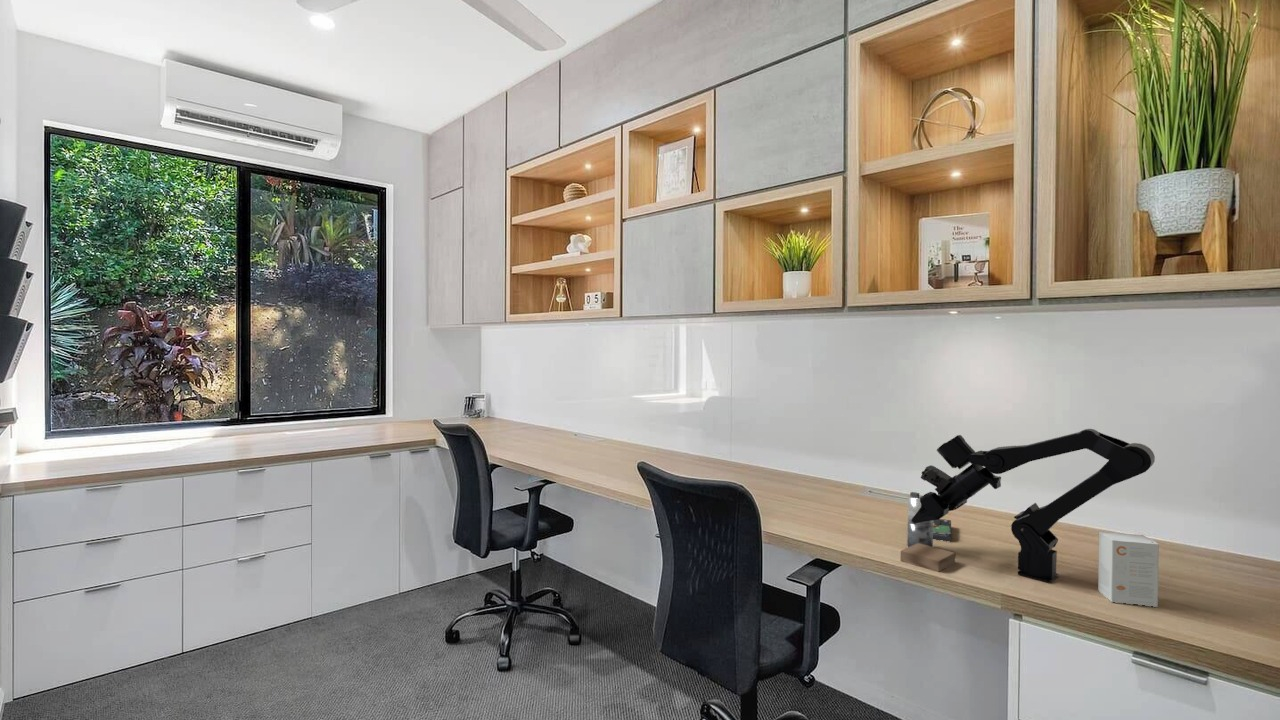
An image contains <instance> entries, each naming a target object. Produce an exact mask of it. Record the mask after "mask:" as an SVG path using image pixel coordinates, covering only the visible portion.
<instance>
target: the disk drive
mask: <svg viewBox="0 0 1280 720" xmlns="http://www.w3.org/2000/svg"><path fill="white" fill-rule="evenodd" d="M933 539H936V540H935V541H940V540H943V541H942V542H947V541H950V542H949V543H951V542H952V520H951V519H943V518H940V519H938V520H933Z"/></svg>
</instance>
